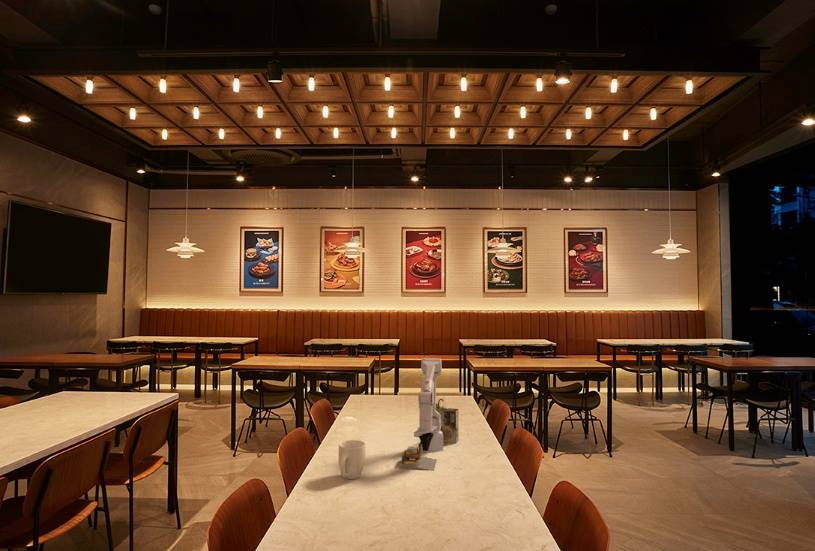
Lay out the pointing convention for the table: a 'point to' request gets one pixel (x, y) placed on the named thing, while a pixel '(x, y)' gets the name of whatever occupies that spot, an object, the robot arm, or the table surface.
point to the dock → (417, 463)
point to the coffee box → (449, 424)
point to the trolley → (414, 452)
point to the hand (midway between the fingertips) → (425, 450)
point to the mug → (351, 458)
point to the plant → (438, 406)
